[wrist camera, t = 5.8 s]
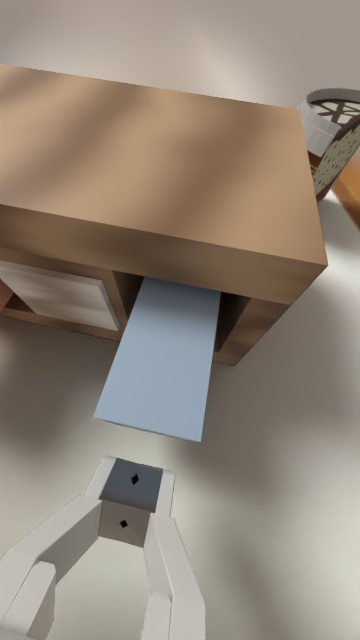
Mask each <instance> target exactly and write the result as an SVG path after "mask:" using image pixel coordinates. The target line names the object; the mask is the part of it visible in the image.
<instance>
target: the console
mask: <svg viewBox="0 0 360 640" xmlns="http://www.w3.org/2000/svg"><path fill="white" fill-rule="evenodd" d="M327 266H328V261H327V256H326V250H325V245H324V239H323V234H322V228H321V223H320V218H319V212H318V207H317V201H316V196H315V190H314V185H313V179H312V174H311V169H310V163H309V158H308V152H307V147H306V141H305V136H304V130H303V125H302V120H301V114H300V110H297V109H290V108H284V107H277V106H271V105H264V104H258V103H251V102H245V101H237V100H232V99H225V98H218V97H212V96H206V95H199V94H193V93H186V92H179V91H173V90H166V89H160V88H154V87H147V86H141V85H134V84H128V83H121V82H114V81H108V80H101V79H95V78H88V77H82V76H76V75H69V74H63V73H56V72H50V71H43V70H37V69H30V68H23V67H17V66H11V65H4V64H0V279H1V280H2V281H3V282H4V283H5V284H6V285H7V286H8V287H9V288H10V289H12V290H13V291H14V294H13V295H12V296H11V298H10V299H9V301H8V302H7V303H6V305H5V306H4V307H3V309H2V310H1V312H0V316H3V317H8V318H13V319H17V320H22V321H27V322H31V323H36V324H41V325H45V326H50V327H55V328H59V329H64V330H69V331H73V332H78V333H83V334H87V335H92V336H97V337H102V338H106V339H111V340H116V341H120V342H121V339H122V336H123V334H124V331H125V328H126V326H127V323H128V320H129V318H130V315H131V312H132V309H133V307H134V304H135V301H136V299H137V296H138V293H139V290H140V288H141V285H142V282H143V280H144V277H145V276H146V277H151V278H156V279H161V280H166V281H171V282H176V283H181V284H186V285H191V286H196V287H201V288H207V289H212V290H217V291H221V297H220V304H219V311H218V319H217V326H216V333H215V341H214V348H213V356H212V361H214V362H218V363H223V364H228V365H232V366H235V365H236V364H237V363H238V362H239V361H240V360H241V359H242V358H243V357H244V356H245V354H246V353H247V352H248V351H249V350H250V349H251V348H252V347H253V346H254V345H255V344H256V343H257V342H258V340H259V339H260V338H261V337H262V336H263V335H264V334H265V333H266V332H267V331H268V330H269V329H270V328H271V326H272V325H273V324H274V323H275V322H276V321H277V320H278V319H279V318H280V317H281V316H282V315H283V314H284V313H285V311H286V310H287V309H288V308H289V307H290V306H291V305H292V304H293V303H294V302H295V301H296V300H297V299H298V297H299V296H300V295H301V294H302V293H303V292H304V291H305V290H306V289H307V288H308V287H309V286H310V285H311V283H312V282H313V281H314V280H315V279H316V278H317V277H318V276H319V275H320V274H321V273H322V272H323V271H324V269H325V268H326V267H327Z"/></svg>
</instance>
